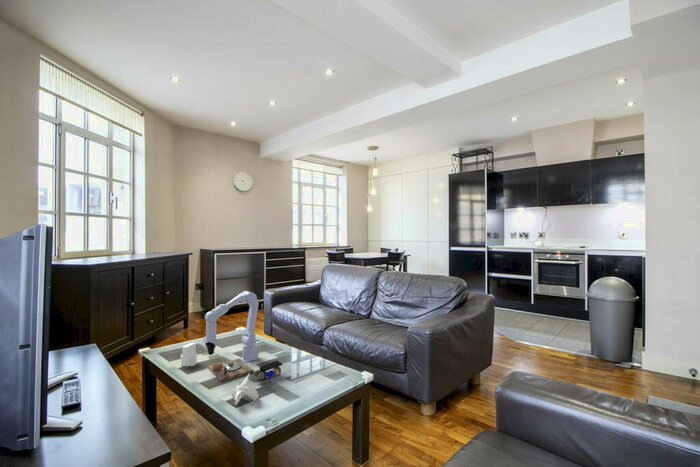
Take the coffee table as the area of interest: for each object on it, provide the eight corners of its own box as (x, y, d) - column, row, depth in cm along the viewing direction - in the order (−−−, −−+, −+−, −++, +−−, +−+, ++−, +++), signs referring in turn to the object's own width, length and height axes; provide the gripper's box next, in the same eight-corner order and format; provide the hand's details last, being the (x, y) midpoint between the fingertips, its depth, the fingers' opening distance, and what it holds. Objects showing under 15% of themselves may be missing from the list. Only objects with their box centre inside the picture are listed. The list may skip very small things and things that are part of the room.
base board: (239, 360, 209) (239, 353, 209) (253, 372, 191) (253, 363, 191) (208, 368, 196) (208, 360, 197) (220, 381, 179) (220, 372, 179)
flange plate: (240, 363, 201) (240, 358, 201) (240, 370, 190) (240, 364, 190) (213, 366, 196) (213, 361, 196) (212, 373, 185) (212, 368, 185)
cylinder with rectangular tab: (190, 367, 198) (190, 348, 198) (177, 366, 199) (177, 346, 200) (199, 362, 206) (200, 343, 207) (187, 361, 208) (187, 342, 208)
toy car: (260, 386, 176) (284, 375, 187) (258, 373, 175) (282, 362, 186) (254, 382, 181) (277, 371, 191) (252, 369, 180) (276, 359, 191)
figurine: (236, 415, 158) (255, 411, 152) (221, 402, 154) (239, 398, 148) (249, 388, 170) (267, 383, 164) (235, 375, 166) (253, 370, 160)
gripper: (198, 330, 197) (198, 353, 197) (210, 335, 188) (210, 359, 187) (210, 328, 202) (210, 350, 202) (221, 333, 193) (221, 355, 193)
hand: (210, 354), depth 195 cm, fingers closed
